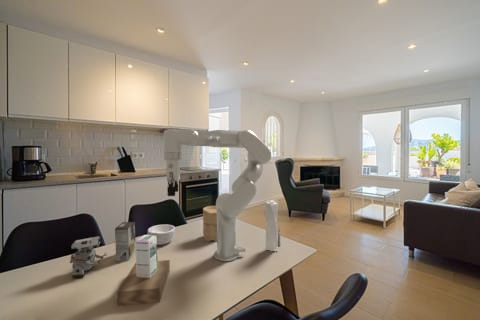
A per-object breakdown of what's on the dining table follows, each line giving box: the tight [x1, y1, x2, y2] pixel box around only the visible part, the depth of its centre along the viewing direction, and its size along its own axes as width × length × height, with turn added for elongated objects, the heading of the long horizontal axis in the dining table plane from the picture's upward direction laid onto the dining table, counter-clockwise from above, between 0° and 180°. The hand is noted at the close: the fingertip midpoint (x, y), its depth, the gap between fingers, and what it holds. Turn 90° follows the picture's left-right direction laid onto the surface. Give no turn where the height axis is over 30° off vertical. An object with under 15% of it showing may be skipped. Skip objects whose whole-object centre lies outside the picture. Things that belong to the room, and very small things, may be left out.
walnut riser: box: [116, 259, 171, 306], centre depth 88 cm, size 14×20×5 cm
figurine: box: [69, 235, 108, 279], centre depth 97 cm, size 9×12×15 cm
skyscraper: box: [264, 199, 282, 252], centre depth 120 cm, size 8×8×28 cm
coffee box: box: [114, 221, 137, 262], centre depth 112 cm, size 9×6×16 cm
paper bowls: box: [147, 224, 176, 246], centre depth 130 cm, size 15×15×8 cm
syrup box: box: [135, 234, 158, 278], centre depth 87 cm, size 6×6×14 cm
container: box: [202, 205, 217, 242], centre depth 136 cm, size 13×13×18 cm
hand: (173, 193), depth 103 cm, fingers open, 9 cm apart
